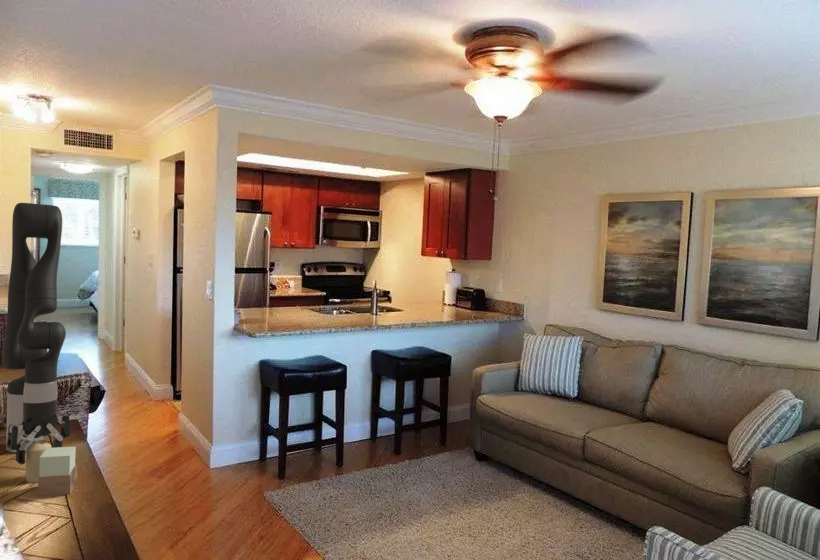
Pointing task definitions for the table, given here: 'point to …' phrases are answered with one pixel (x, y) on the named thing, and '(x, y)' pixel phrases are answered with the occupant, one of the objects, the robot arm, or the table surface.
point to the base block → (57, 484)
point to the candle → (34, 459)
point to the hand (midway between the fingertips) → (39, 458)
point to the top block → (57, 461)
